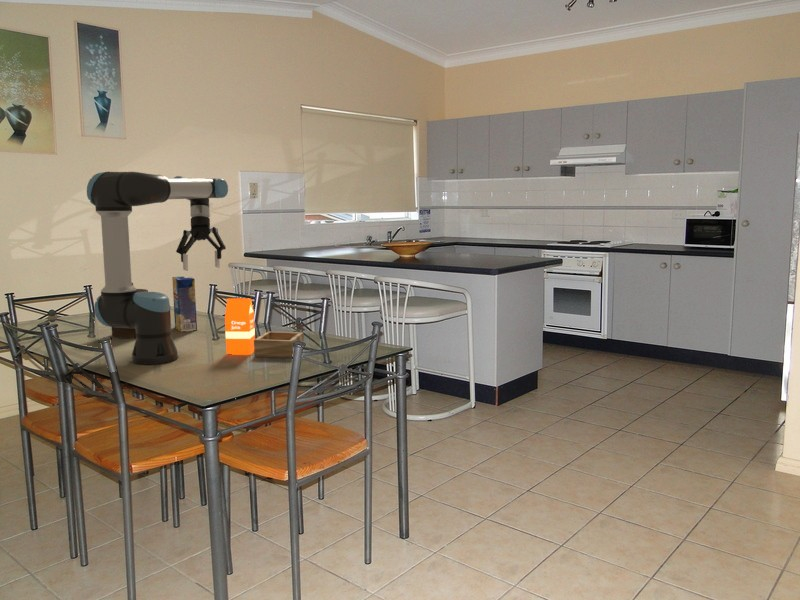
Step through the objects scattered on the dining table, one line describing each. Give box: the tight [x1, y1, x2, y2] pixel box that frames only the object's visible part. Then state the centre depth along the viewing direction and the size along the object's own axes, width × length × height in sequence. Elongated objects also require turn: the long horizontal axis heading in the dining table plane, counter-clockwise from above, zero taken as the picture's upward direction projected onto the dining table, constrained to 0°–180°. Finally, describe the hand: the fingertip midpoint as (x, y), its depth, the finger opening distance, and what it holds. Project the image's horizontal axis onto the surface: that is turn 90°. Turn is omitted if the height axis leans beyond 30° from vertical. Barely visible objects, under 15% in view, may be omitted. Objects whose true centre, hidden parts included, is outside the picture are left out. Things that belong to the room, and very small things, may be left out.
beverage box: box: [171, 275, 198, 333], centre depth 287 cm, size 7×11×22 cm, turn 30°
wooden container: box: [111, 282, 149, 339], centre depth 275 cm, size 15×15×22 cm
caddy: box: [253, 330, 305, 359], centre depth 246 cm, size 15×14×6 cm
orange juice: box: [224, 297, 256, 356], centre depth 244 cm, size 8×9×20 cm
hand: (201, 268), depth 273 cm, fingers open, 13 cm apart
